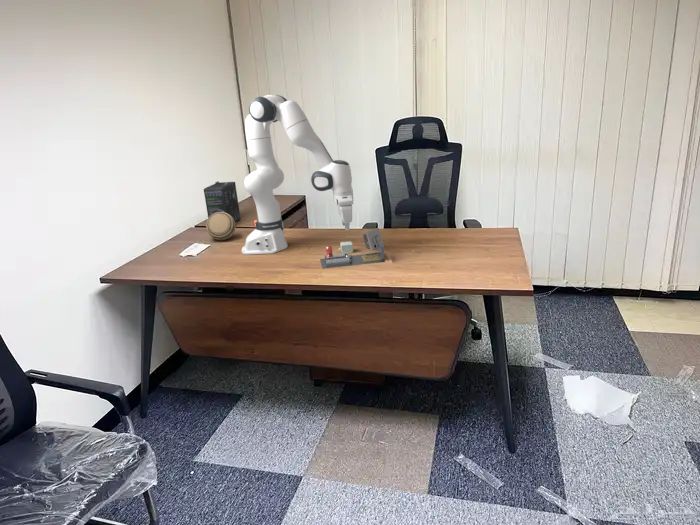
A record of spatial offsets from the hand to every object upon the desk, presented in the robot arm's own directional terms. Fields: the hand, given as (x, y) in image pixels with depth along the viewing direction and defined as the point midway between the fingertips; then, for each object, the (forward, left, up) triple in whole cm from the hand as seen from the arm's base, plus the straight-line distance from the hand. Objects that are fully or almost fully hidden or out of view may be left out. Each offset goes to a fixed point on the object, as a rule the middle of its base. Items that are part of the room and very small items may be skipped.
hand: (346, 227), depth 218 cm
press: (0, -13, -12) cm, 18 cm away
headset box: (-63, +79, -13) cm, 102 cm away
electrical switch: (+13, +3, -13) cm, 18 cm away
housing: (0, 0, -12) cm, 12 cm away
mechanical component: (-61, +46, -13) cm, 78 cm away
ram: (-5, -13, -11) cm, 18 cm away
